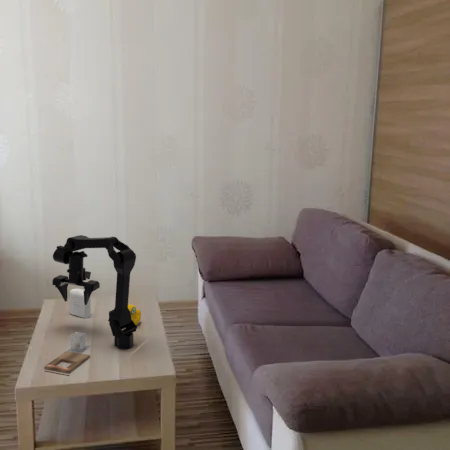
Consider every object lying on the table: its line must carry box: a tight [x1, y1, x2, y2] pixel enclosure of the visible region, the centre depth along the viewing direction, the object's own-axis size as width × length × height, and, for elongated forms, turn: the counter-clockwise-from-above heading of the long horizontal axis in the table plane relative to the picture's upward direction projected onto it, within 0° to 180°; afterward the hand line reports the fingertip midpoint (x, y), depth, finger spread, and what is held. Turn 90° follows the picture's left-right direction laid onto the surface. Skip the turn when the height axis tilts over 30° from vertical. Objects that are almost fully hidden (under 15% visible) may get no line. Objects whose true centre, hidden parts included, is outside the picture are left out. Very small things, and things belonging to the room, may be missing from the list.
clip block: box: [70, 331, 87, 352], centre depth 220 cm, size 4×4×6 cm
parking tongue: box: [67, 345, 92, 354], centre depth 221 cm, size 6×8×1 cm
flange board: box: [43, 350, 91, 377], centre depth 208 cm, size 10×14×2 cm
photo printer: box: [69, 288, 92, 319], centre depth 257 cm, size 10×4×12 cm, turn 60°
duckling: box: [128, 303, 142, 326], centre depth 246 cm, size 11×5×10 cm, turn 151°
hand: (75, 303), depth 235 cm, fingers open, 9 cm apart
